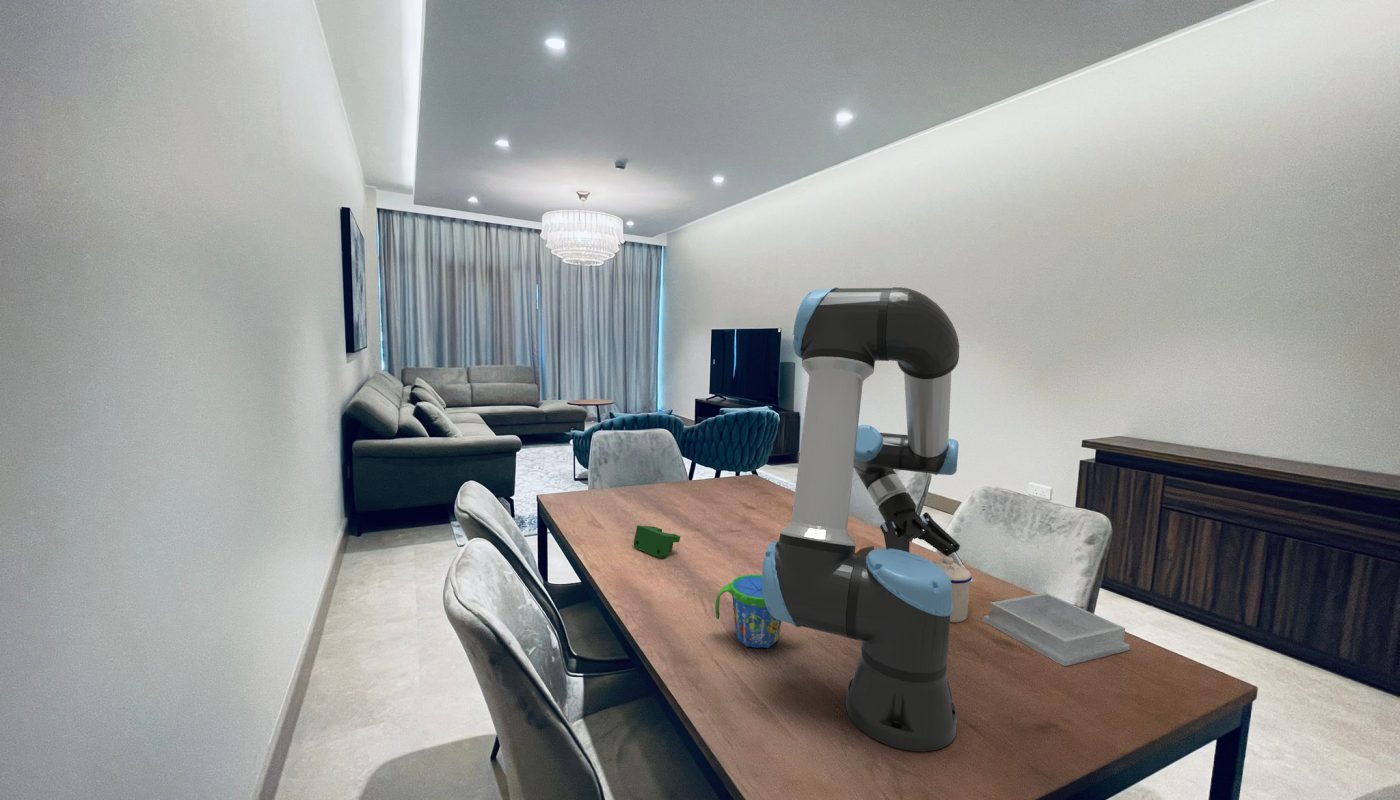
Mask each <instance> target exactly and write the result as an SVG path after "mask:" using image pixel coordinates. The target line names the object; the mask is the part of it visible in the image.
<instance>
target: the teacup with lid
mask: <svg viewBox="0 0 1400 800" xmlns="http://www.w3.org/2000/svg"><path fill="white" fill-rule="evenodd" d="M932 562H933V563H935V564H936V565H937V566H939V567H940V568H942V569H943V570H944V571H945V572H946V574H947V575H948V576H949V578H950V580H951V584H952V604H953V612H952V614H951V615H950V623H959V622H960V623H961V622H963V621H965V620H966V619H967V618H968V614H969V612H968V611H969V598H970V586H971V582H970V580H971V579H973V576H972V574H971V572H970V571H969V570H968V569H967V568H966V567H965V566H964V567H965V568H966V569H965V568H964V567H962V566H959V565H958V564H956V563H954V562H953V559H952V558H951V557H947V556H943V557H942V559H940V560H937V561H932Z"/></svg>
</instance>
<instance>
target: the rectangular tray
mask: <svg viewBox="0 0 1400 800" xmlns="http://www.w3.org/2000/svg"><path fill="white" fill-rule="evenodd" d="M988 610H989V611H988V615H983V616H982V622H983V623H986V624H988V625H990V626H991V627H993V628H995V629H996V630H998V631H1000V632H1002V633H1004V634H1005V635H1007V636H1009V637H1011V638H1012V639H1015V640H1016V641H1018V642H1020V643H1021V644H1023V645H1025V646H1027V647H1029V648H1031V649H1033V650H1034V651H1036V652H1037V653H1039V654H1041V655H1043V656H1045V657H1047V658H1048V659H1050V660H1052V661H1054V662H1056V663H1058V664H1059V665H1061V666H1062V667H1068V666H1071V665H1075V664H1081V663H1085V662H1088V661H1092V660H1095V659H1101V658H1103V657H1108V656H1112V655H1116V654H1121V653H1124V652H1128V651H1130V650H1131V649H1130V648H1131V645H1130V644H1129V643H1127V642H1125V633H1126V627H1124V626H1121V625H1119V624H1117V623H1115V622H1112V621H1110V620H1109V619H1105V618H1103V617H1101V616H1100V615H1097V614H1096V613H1092V612H1090V611H1089V610H1085V609H1083V608H1081V607H1079V606H1076V605H1074V604H1073V603H1070V602H1069V601H1066V600H1063V599H1061V598H1059V597H1058V596H1057V597H1056V596H1055V595H1052V594H1050V593H1048V592H1042V593H1038V594H1031V595H1025V596H1021V597H1019V596H1018V597H1014V598H1008V599H1004V600H998V601H993V602H990V603H989V609H988Z"/></svg>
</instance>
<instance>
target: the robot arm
mask: <svg viewBox="0 0 1400 800" xmlns="http://www.w3.org/2000/svg"><path fill="white" fill-rule="evenodd" d="M792 332H793V333H792V334H793V339H792V340H793V341H792V346H793V350H794V351H793V352H794V353H795V355H796V356H797V357H798V358H800V359H801V367H802V368H803V370H804V371H805V372H806V373H807V375H808V384H807V391H806V401H805V409H804V418H803V425H802V426H803V427H802V434H801V440H800V441H801V442H800V451H799V457H798V465H797V472H796V473H797V474H796V481H795V491H794V498H793V507H792V513H791V514H792V515H791V519H790V520H791V521H790V523H789V524H788V525H786V526H785V527H783V528H782V529H781V530H780V533H779V540H775V541H772V542H770V543H769V544H768V546H767V547H766V550H765V557H764V558H763V562H762V571H761V575H762V588H763V596H764V601H765V604H766V607H767V610H768V611H769V613H770V614H771V615H772V616H773V617H774V618H775V619H777V620H780V621H781V622H784V623H786V624H790V625H793V626H794V627H796V628H807V629H811V630H814V631H819V632H823V633H825V634H830V635H836V636H840V637H844V638H847V639H853V640H855V641H860V642H861V654H860V659H859V660H858V663H857V665H856V669H855V671H854V675H853V677H852V678H851V680H850V682H849V683H848V686H847V690H846V699H845V707H846V708H845V709H846V712H847V714H848V716H849V718H850V720H851V721H852V722H853V724H854V725H855V726H856V727H857V728H858V729H859V730H860V731H861V732H863V733H864V734H866V735H867V736H869V737H870V738H872V739H873V740H876V741H877V742H880V743H881V744H884V745H887V746H890V747H893V748H896V749H900V750H906V751H911V752H930V751H932V752H933V751H936V750H937V751H938V750H939V749H943V748H945V747H946V746H948V745H950V744H951V743H952V742H953V740H954V739H955V737H956V735H957V734H956V732H957V722H958V714H957V710H956V707H955V704H954V700H953V695H952V691H951V687H950V683H949V679H948V676H947V675H948V674H947V671H948V669H947V668H948V658H949V645H950V643H949V641H950V627H951V626H950V625H951V622H950V615H951V614H952V612H953V604H952V584H951V580H950V578H949V576H948V575H947V574H946V572H945V571H944V570H943V569H942V568H940V567H939V566H937V565H936V564H935V563H933V562H934V561H931V560H929V559H927V558H926V557H924V556H923V557H922V556H921V555H918V554H916V553H912V552H910V544H911V543H910V540H912V539H913V540H914V539H918V540H921V541H922V540H923V541H924V542H926V543H927V544H928V545H930V546H931V547H933V548H934V549H935V550H937V551H938V552H940V553H941V554H943V555H944V557H951V558H952V559H953V562H954V563H956V564H958V565H959V566H962V567H964V568H965V569H967V568H966V567H965V565H964V563H963V561H962V559H961V558H960V557H959V555H958V553H957V552H958V551H959V550H960V548H961V546H960V544H959V543H958V542H957V541H956V540H955V539H954V538H953V537H952V536H951V535H950V534H948V532H946V531H945V530H944V529H943V528H942V527H941V526H940V525H939V524H938V523H937V522H936V521H934V519H933V518H932V516H931V515H930V513H928V512H925V513H923V514H922V515H919V514H918V513H917V512H916V509H917V504H916V503H915V501H914V499H913V498H912V496H911V494H910V493H909V492H907V487H906V486H905V484H904V483H903V482H902V480H901V479H900V477H899V476H898V474H897V473H896V471H895V470H898V471H908V472H914V473H915V472H916V473H923V474H929V475H930V474H931V475H935V476H938V475H942V476H953V475H955V474H956V473H957V470H958V458H959V442H958V440H957V439H954V438H949V434H950V432H949V431H950V413H951V412H950V410H951V390H952V389H951V387H952V386H951V385H952V372H953V371H955V369H956V367H957V365H958V364H959V359H960V340H959V336H958V333H957V331H956V329H955V327H954V323H953V322H952V320H950V317H949V316H948V315H947V313H946V312H945V311H944V309H942V307H940V306H939V305H938V304H937V303H936V302H935V301H934V300H933V299H931V298H930V297H928V296H927V295H926V294H923V293H922V292H919V291H917V290H915V289H911V288H908V287H899V286H898V287H866V288H865V287H864V288H863V287H862V288H859V287H857V288H853V287H851V288H849V287H848V288H847V287H845V288H844V287H843V288H840V287H837V286H836V287H831V288H822V289H814V290H811V291H810V292H808V294H807V295H806V296H805V297H804V298H803V299H802V301H801V303H800V305H799V308H798V310H797V313H796V317H795V321H794V325H793V331H792ZM877 361H882V362H889V361H893V362H897V366H898V368H899V369H900V371H901V372H902V373H903V378H904V392H905V393H904V394H905V396H904V397H905V409H906V410H905V411H906V412H905V413H906V428H907V429H906V430H907V431H906V433H907V434H902V433H901V434H898V433H891V432H890V433H889V432H880V431H879V430H878V429H877V428H876V427H874V426H871V425H869V424H860V425H859V420H860V413H861V412H860V411H861V403H862V401H861V400H862V393H863V392H862V391H863V385H864V381H865V380H867V378H869V377H871V376H872V375H873V374H874V372H875V365H876V364H875V363H876V362H877ZM854 470H855V472H856V474H857V475H858V477H859V478H860V481H861V482H862V483H863V486H864V487H865V488H866V491H867V492H868V494H869V495H870V497H871V499H872V501H873V502H874V505H875V506H877V507H878V509H877V510H878V511H879V513H880V515H881V516H882V519H883V520H884V522H883V523H882V524H880V525H879V528H880V530H881V532H882V534H883V539H884V544H885V548H882V547H879V548H874V550H872V551H870V552H869V554H868V555H867V557H866V558H861V557H856V556H855V553H856V546H857V543H856V542H855V540H854V539H853V537H851V536H850V534H849V532H848V522H849V514H850V506H851V505H850V503H851V495H852V485H853V476H854ZM973 581H974V580H973V578H972V579H971V580H970V583H972V582H973Z"/></svg>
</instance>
